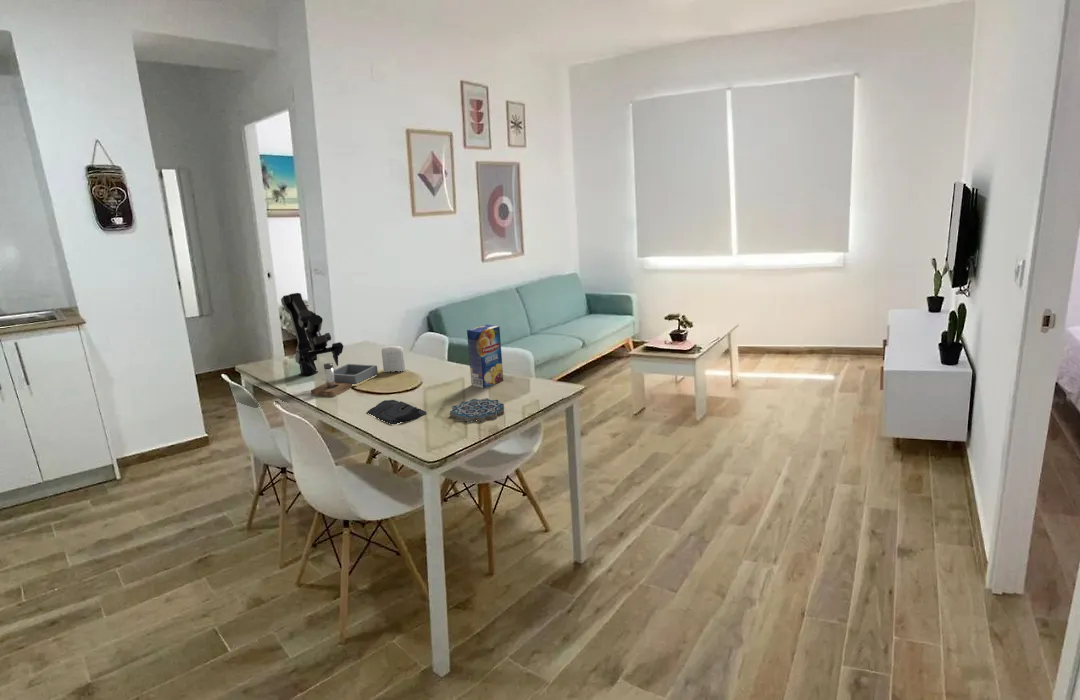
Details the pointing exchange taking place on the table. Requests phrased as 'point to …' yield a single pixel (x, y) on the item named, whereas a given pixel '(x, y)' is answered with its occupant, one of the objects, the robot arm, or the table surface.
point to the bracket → (335, 391)
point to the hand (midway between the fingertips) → (327, 367)
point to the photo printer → (393, 358)
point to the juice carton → (485, 355)
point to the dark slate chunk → (395, 411)
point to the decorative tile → (477, 410)
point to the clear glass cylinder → (329, 375)
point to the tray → (354, 373)
